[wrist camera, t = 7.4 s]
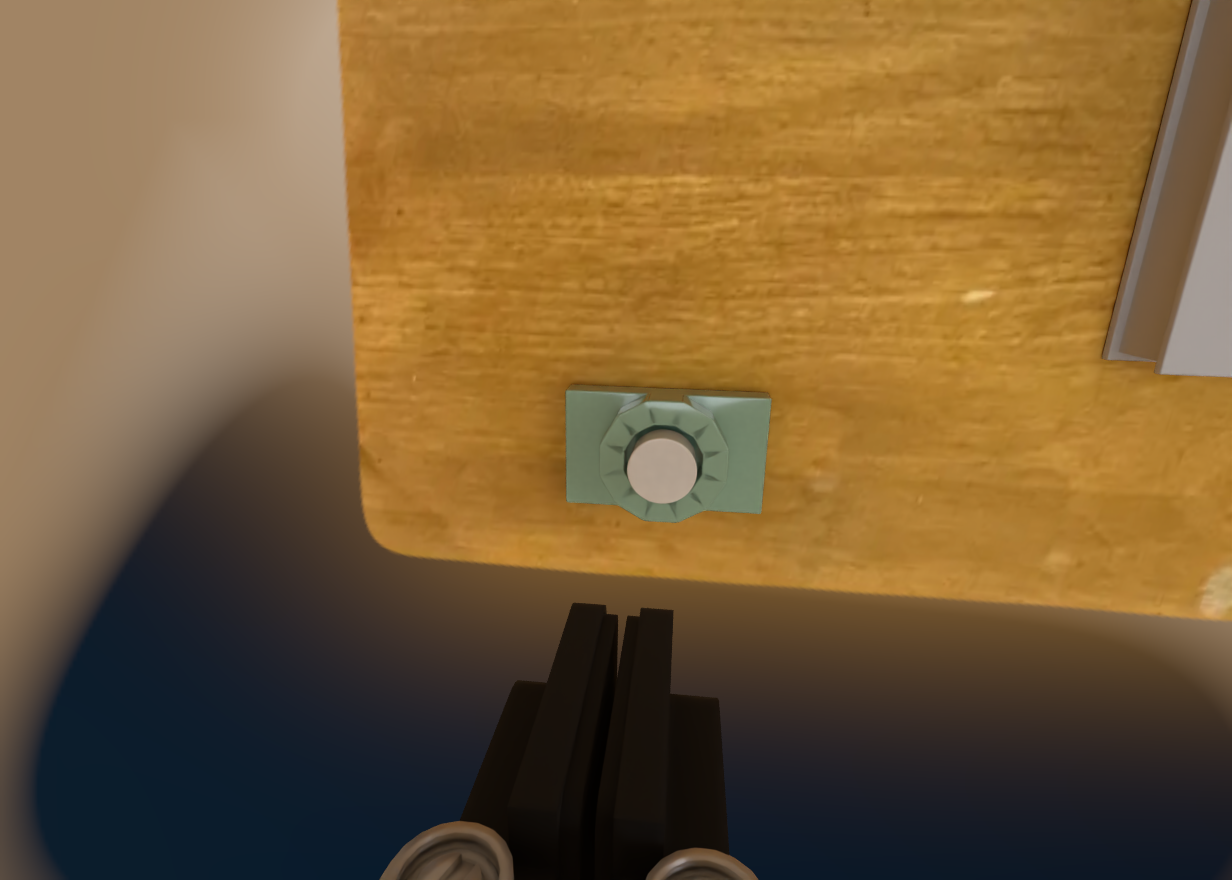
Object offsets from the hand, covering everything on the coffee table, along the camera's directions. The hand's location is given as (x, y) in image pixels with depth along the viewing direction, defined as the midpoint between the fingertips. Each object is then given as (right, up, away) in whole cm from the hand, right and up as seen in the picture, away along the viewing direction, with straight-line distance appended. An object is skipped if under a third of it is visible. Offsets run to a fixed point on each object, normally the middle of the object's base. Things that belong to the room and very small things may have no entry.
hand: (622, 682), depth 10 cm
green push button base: (+2, +4, +22) cm, 23 cm away
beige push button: (+2, +3, +20) cm, 20 cm away
